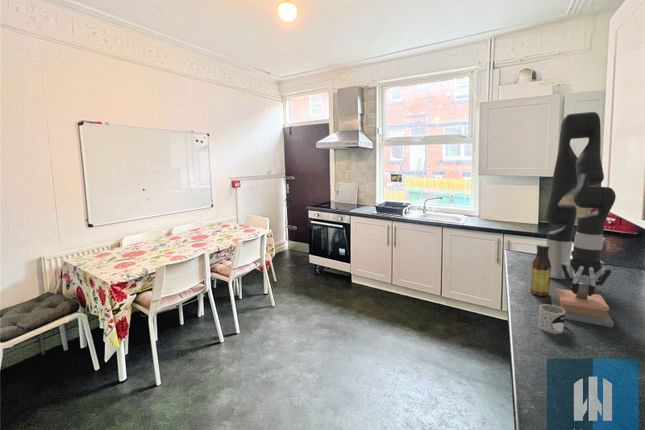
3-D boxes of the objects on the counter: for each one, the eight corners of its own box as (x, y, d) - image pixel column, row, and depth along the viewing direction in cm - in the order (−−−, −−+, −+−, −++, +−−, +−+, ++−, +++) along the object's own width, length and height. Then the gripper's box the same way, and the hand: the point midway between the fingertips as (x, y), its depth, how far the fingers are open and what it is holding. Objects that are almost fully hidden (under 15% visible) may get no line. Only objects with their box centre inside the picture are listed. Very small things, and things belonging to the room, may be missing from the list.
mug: (555, 336, 99) (558, 315, 98) (533, 326, 105) (535, 307, 104) (573, 328, 104) (575, 308, 102) (550, 319, 109) (552, 300, 108)
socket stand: (551, 300, 124) (552, 289, 123) (601, 308, 116) (603, 297, 115) (555, 316, 111) (557, 304, 110) (613, 327, 103) (615, 314, 103)
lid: (556, 291, 121) (558, 275, 120) (600, 298, 115) (602, 281, 114) (561, 303, 111) (563, 286, 110) (608, 311, 105) (611, 293, 104)
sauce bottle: (551, 297, 126) (557, 248, 123) (533, 296, 127) (538, 247, 124) (543, 290, 133) (548, 243, 129) (527, 289, 134) (531, 243, 130)
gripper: (612, 245, 109) (605, 294, 112) (560, 241, 116) (555, 286, 119) (618, 251, 103) (611, 302, 106) (563, 246, 110) (558, 294, 113)
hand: (581, 293), depth 112 cm, fingers open, 3 cm apart
